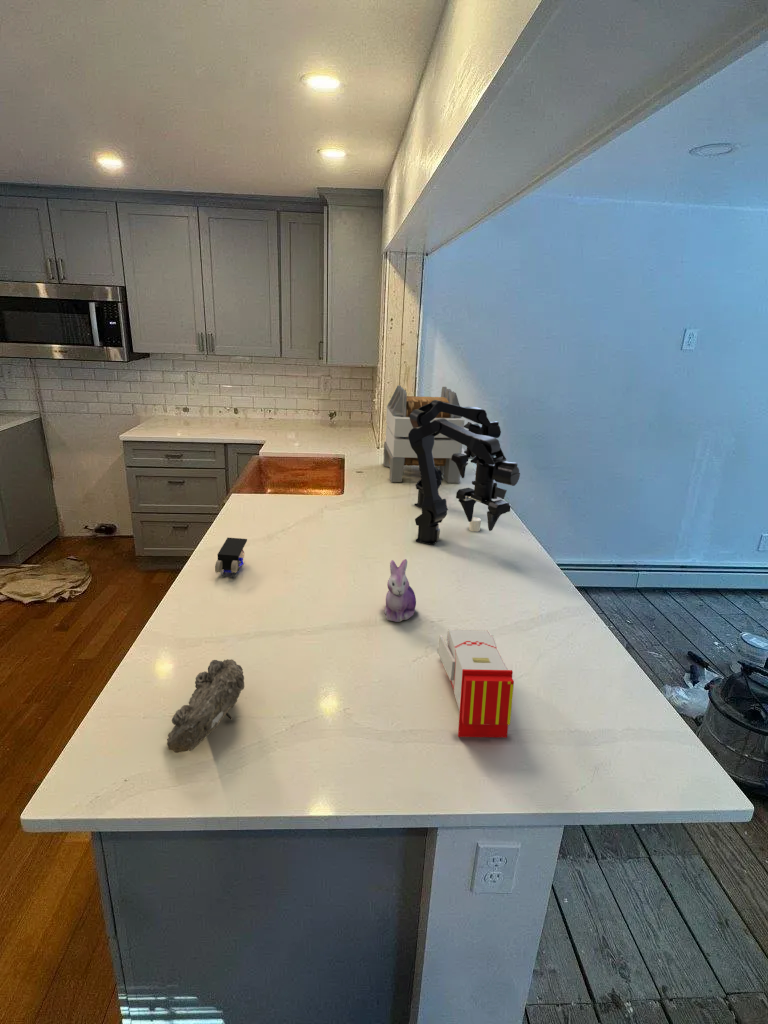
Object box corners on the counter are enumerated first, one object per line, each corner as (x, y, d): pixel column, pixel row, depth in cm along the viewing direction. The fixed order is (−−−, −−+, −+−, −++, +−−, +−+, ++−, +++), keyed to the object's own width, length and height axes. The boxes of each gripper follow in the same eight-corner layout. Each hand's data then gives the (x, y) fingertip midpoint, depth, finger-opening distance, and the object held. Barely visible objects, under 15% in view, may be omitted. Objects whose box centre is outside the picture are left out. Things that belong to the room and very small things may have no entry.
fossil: (192, 660, 117) (244, 628, 112) (224, 691, 120) (276, 661, 115) (142, 746, 98) (202, 712, 93) (182, 779, 101) (242, 748, 96)
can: (482, 529, 207) (483, 519, 206) (476, 532, 204) (477, 522, 203) (473, 526, 210) (474, 516, 208) (466, 529, 207) (467, 519, 205)
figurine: (392, 627, 141) (395, 572, 136) (374, 608, 149) (376, 556, 144) (425, 619, 145) (429, 566, 140) (405, 601, 154) (408, 550, 149)
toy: (488, 613, 130) (523, 677, 101) (484, 667, 133) (517, 744, 104) (435, 612, 130) (455, 676, 101) (432, 666, 133) (451, 743, 103)
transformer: (382, 463, 289) (386, 382, 275) (445, 464, 293) (451, 384, 279) (390, 482, 257) (394, 392, 243) (460, 483, 261) (468, 394, 247)
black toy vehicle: (238, 584, 162) (249, 557, 175) (236, 562, 158) (247, 536, 172) (215, 584, 161) (227, 556, 175) (212, 561, 158) (225, 535, 171)
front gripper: (525, 482, 172) (519, 530, 177) (482, 468, 186) (477, 513, 191) (499, 488, 166) (494, 537, 171) (456, 472, 180) (453, 518, 185)
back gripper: (471, 445, 216) (467, 484, 222) (505, 441, 227) (501, 478, 232) (452, 439, 225) (448, 477, 230) (486, 435, 235) (482, 471, 240)
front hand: (480, 526), depth 180 cm, fingers open, 9 cm apart
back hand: (471, 476), depth 233 cm, fingers open, 9 cm apart
